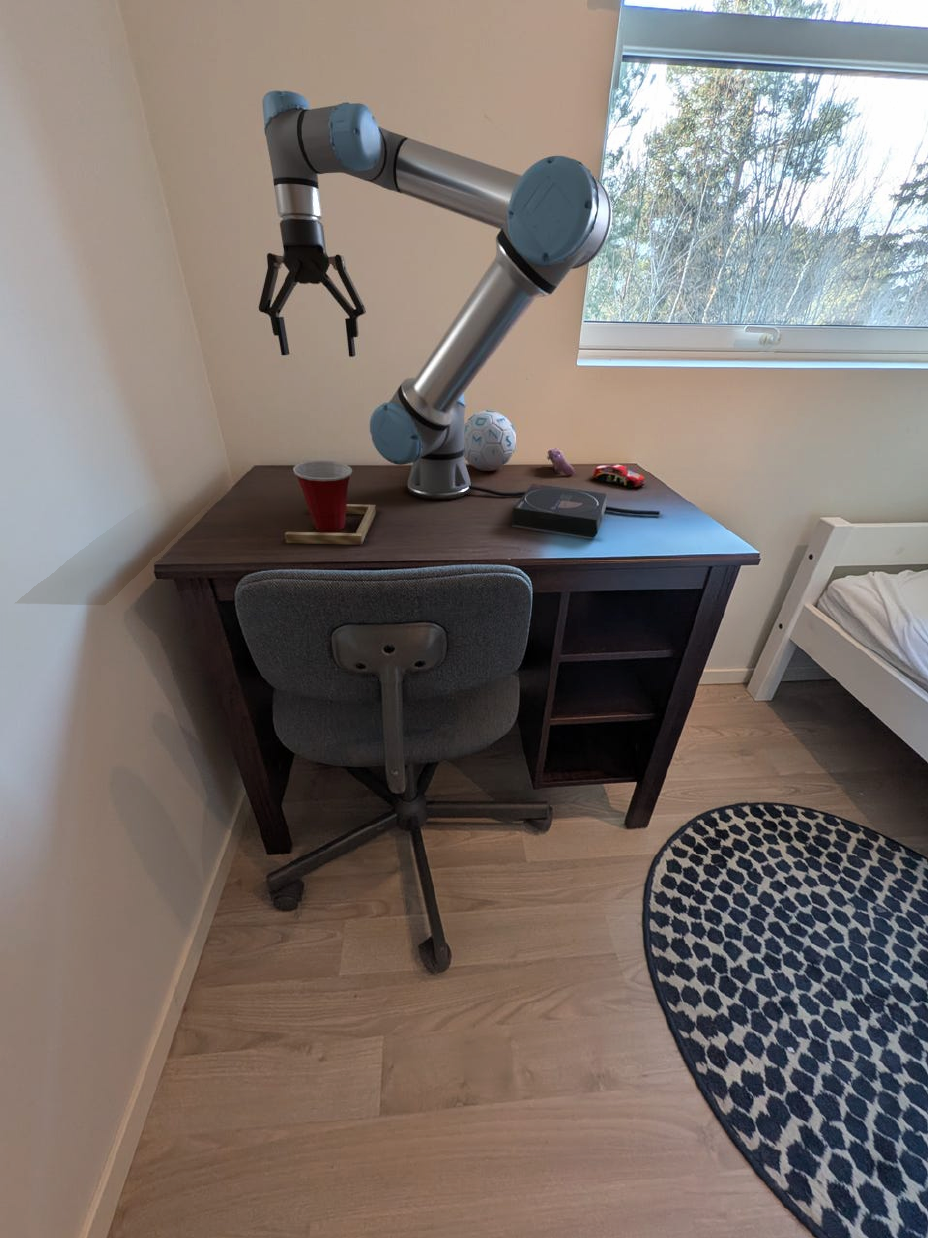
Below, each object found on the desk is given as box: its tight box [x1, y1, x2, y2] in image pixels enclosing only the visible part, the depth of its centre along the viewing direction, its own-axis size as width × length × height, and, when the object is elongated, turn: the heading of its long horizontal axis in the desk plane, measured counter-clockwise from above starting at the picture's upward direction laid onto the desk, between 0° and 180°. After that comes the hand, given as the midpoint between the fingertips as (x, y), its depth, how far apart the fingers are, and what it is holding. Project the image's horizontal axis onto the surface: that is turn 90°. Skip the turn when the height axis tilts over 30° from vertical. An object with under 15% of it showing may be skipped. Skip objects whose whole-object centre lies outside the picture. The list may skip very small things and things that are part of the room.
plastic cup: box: [292, 460, 353, 533], centre depth 93 cm, size 11×11×12 cm
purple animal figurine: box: [546, 447, 575, 476], centre depth 130 cm, size 10×5×7 cm, turn 5°
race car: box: [593, 463, 646, 489], centre depth 122 cm, size 13×5×4 cm, turn 50°
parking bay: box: [284, 503, 377, 546], centre depth 96 cm, size 14×16×2 cm
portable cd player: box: [511, 483, 608, 540], centre depth 101 cm, size 16×17×4 cm
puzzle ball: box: [464, 409, 517, 472], centre depth 127 cm, size 15×15×15 cm
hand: (319, 355), depth 97 cm, fingers open, 13 cm apart
